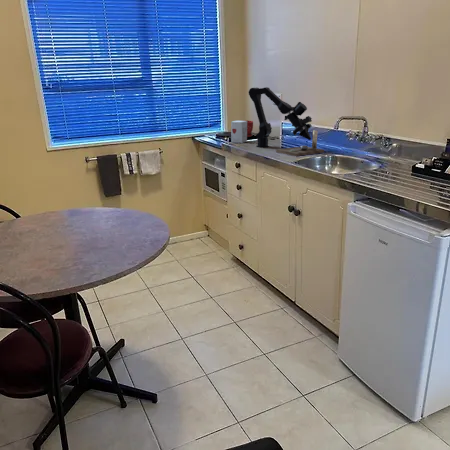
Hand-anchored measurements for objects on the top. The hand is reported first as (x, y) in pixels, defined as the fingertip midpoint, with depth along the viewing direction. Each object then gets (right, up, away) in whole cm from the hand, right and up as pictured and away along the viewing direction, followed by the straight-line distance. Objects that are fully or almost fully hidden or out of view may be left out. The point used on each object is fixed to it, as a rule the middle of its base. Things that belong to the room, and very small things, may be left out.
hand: (310, 139), depth 270 cm
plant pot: (-39, +16, +69) cm, 81 cm away
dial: (-5, -7, -4) cm, 10 cm away
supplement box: (-44, +6, +42) cm, 61 cm away
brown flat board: (-7, -8, -2) cm, 11 cm away
